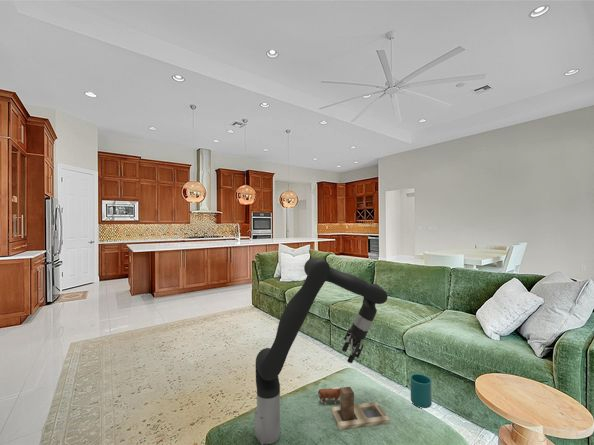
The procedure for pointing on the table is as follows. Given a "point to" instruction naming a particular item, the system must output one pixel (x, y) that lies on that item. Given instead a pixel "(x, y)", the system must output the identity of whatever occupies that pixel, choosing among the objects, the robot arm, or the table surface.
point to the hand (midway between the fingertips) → (346, 356)
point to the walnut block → (346, 403)
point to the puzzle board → (361, 416)
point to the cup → (421, 390)
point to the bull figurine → (329, 394)
